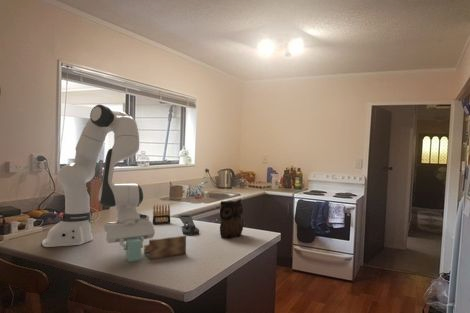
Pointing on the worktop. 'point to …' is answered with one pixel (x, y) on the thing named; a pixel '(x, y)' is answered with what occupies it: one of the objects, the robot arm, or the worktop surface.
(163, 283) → the worktop surface
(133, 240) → the cabinet block
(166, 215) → the ammunition clip
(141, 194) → the robot arm
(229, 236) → the owl
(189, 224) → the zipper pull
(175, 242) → the board
